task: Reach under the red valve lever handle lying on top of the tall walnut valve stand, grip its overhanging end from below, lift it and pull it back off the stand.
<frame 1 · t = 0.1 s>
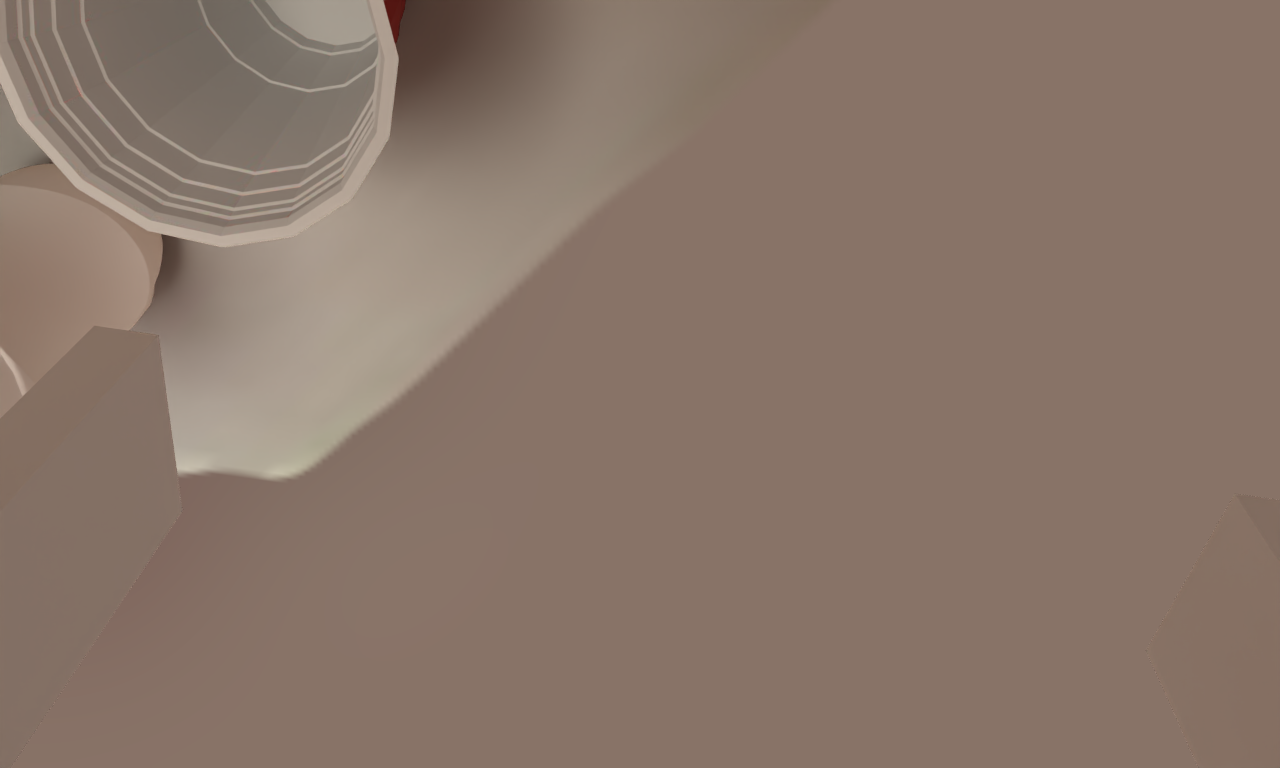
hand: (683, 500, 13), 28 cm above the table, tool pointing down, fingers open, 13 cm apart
water bottle: (98, 227, 44), on the table
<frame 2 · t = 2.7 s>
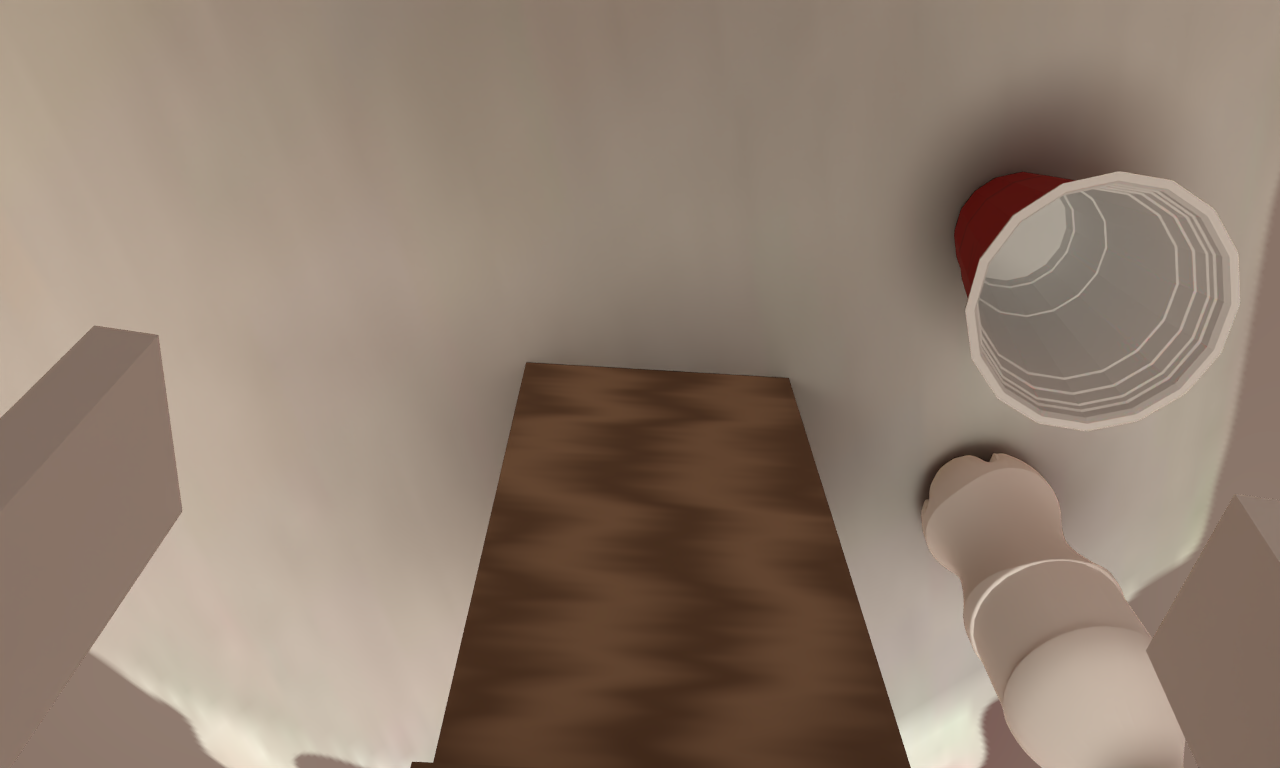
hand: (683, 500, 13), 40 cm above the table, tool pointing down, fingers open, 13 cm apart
plastic cup: (1008, 223, 53), on the table
water bottle: (974, 491, 60), on the table
valve stand: (651, 452, 58), on the table
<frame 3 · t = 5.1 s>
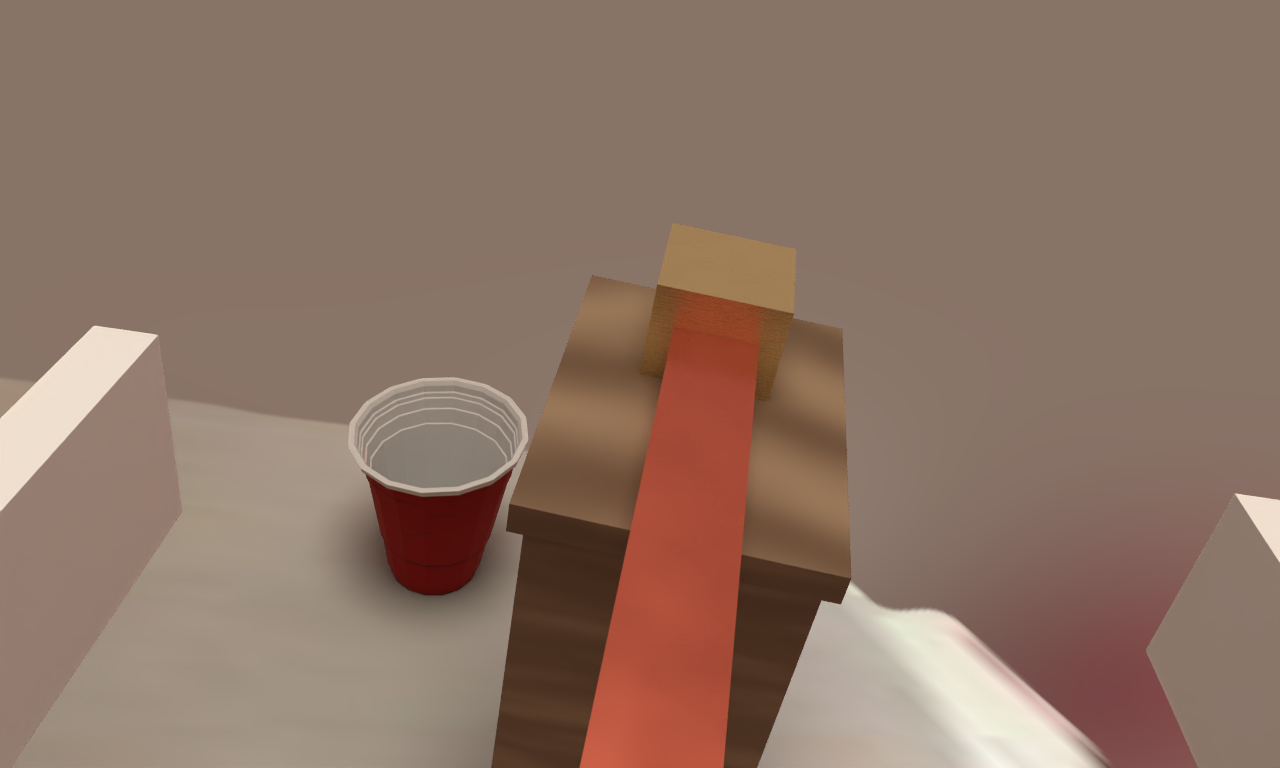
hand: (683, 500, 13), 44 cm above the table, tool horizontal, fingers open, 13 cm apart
lever: (684, 509, 34), point 30 cm above the table, touching valve stand
plastic cup: (430, 566, 71), on the table
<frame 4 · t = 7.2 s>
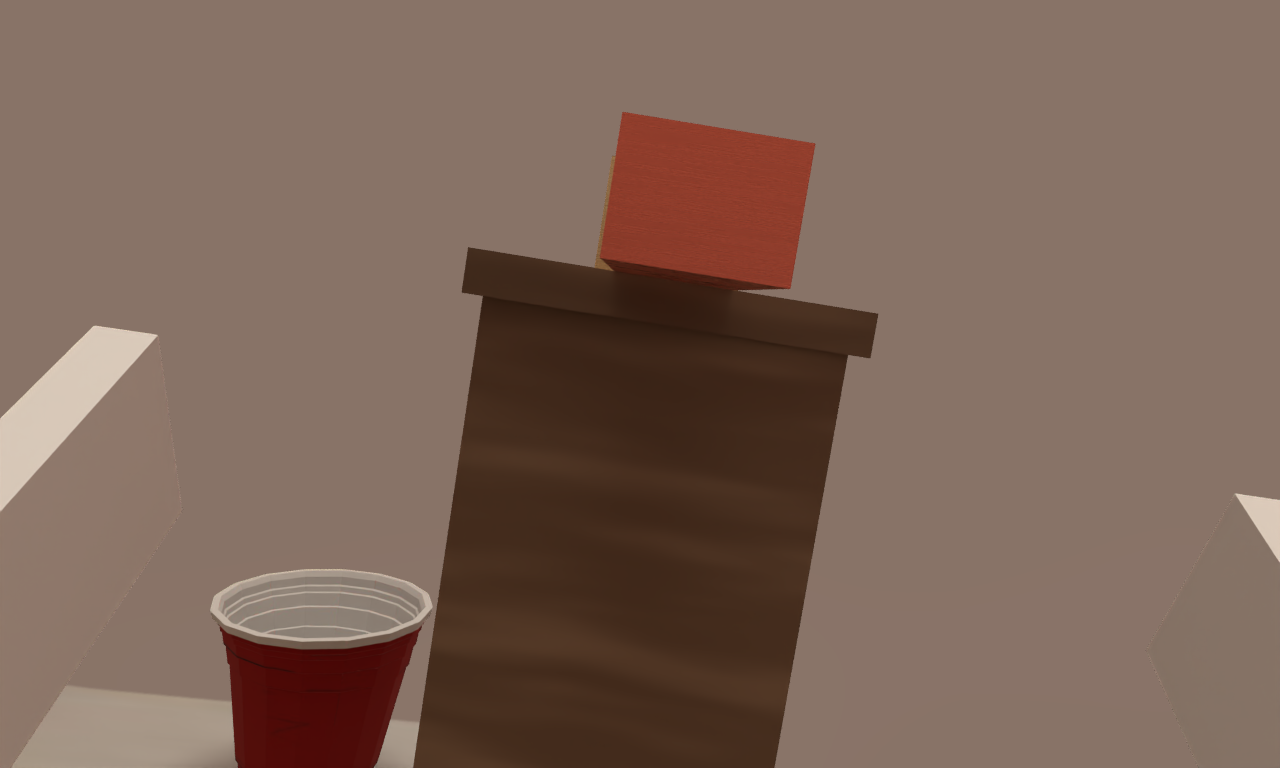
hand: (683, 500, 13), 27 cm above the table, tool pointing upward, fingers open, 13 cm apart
lever: (672, 281, 29), point 30 cm above the table, touching valve stand
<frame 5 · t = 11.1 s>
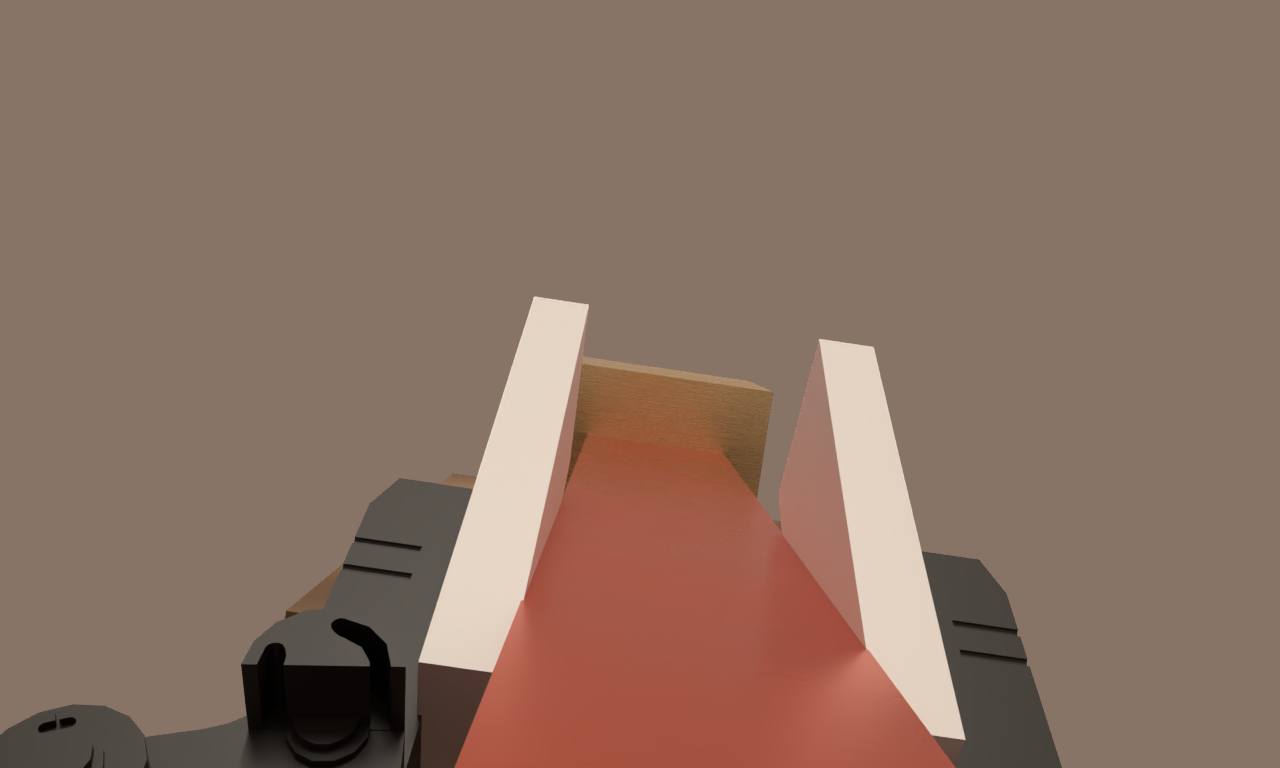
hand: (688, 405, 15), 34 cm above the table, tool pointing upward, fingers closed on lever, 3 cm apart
lever: (644, 633, 18), point 30 cm above the table, touching gripper, valve stand
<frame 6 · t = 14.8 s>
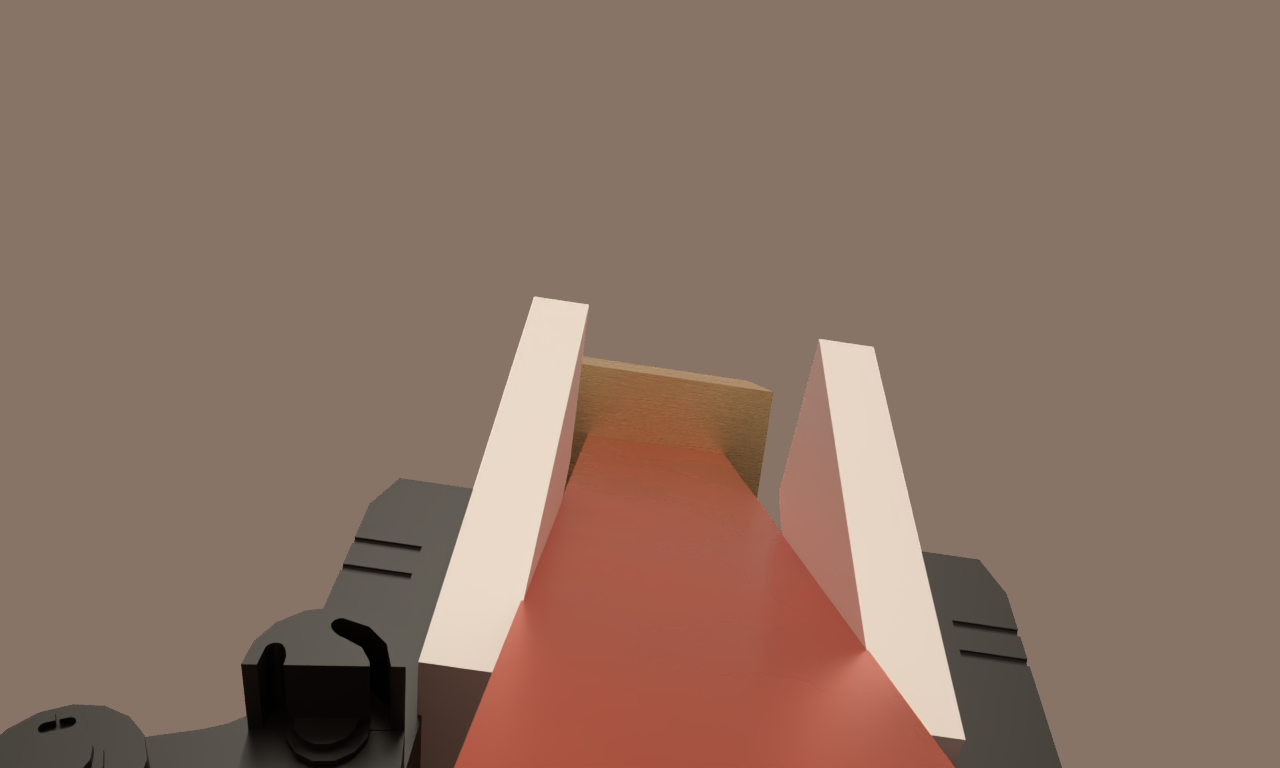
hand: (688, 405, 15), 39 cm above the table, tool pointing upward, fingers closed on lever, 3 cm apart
lever: (644, 633, 18), point 35 cm above the table, touching gripper
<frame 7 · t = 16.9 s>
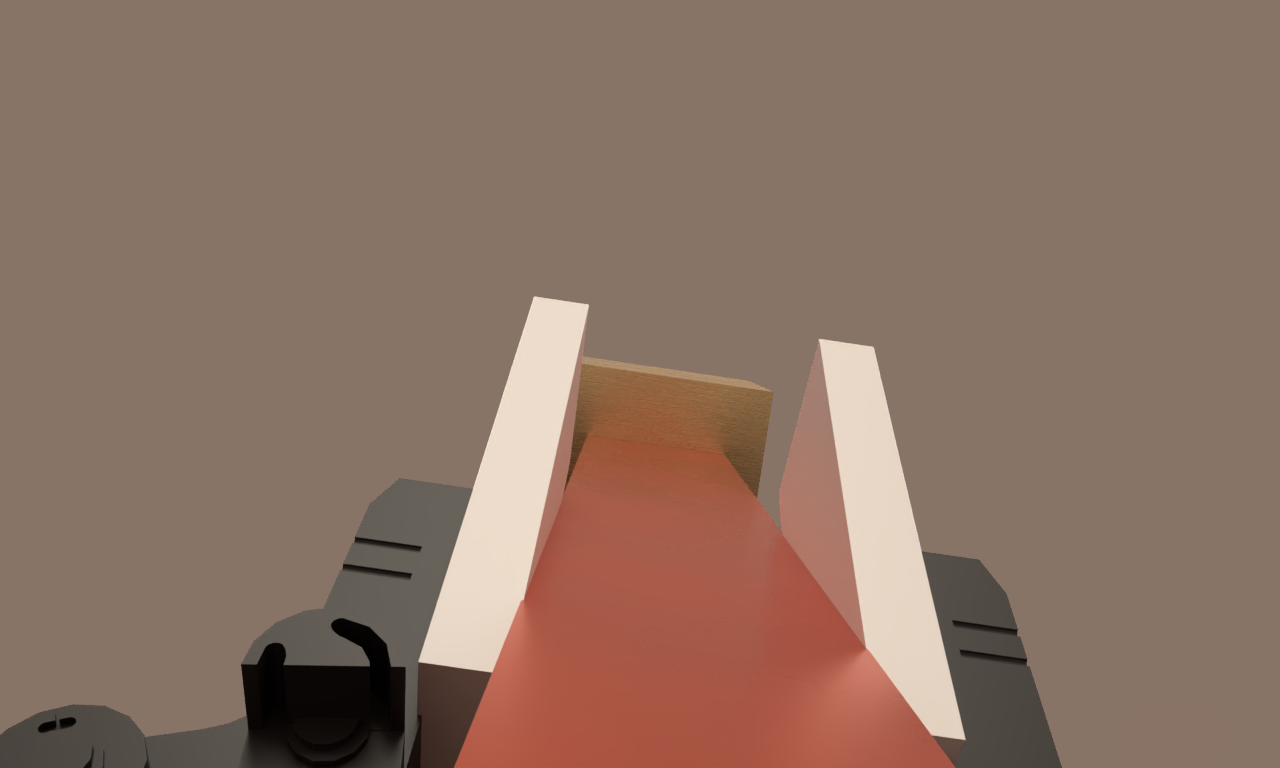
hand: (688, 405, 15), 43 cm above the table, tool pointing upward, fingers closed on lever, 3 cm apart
lever: (644, 633, 18), point 39 cm above the table, touching gripper
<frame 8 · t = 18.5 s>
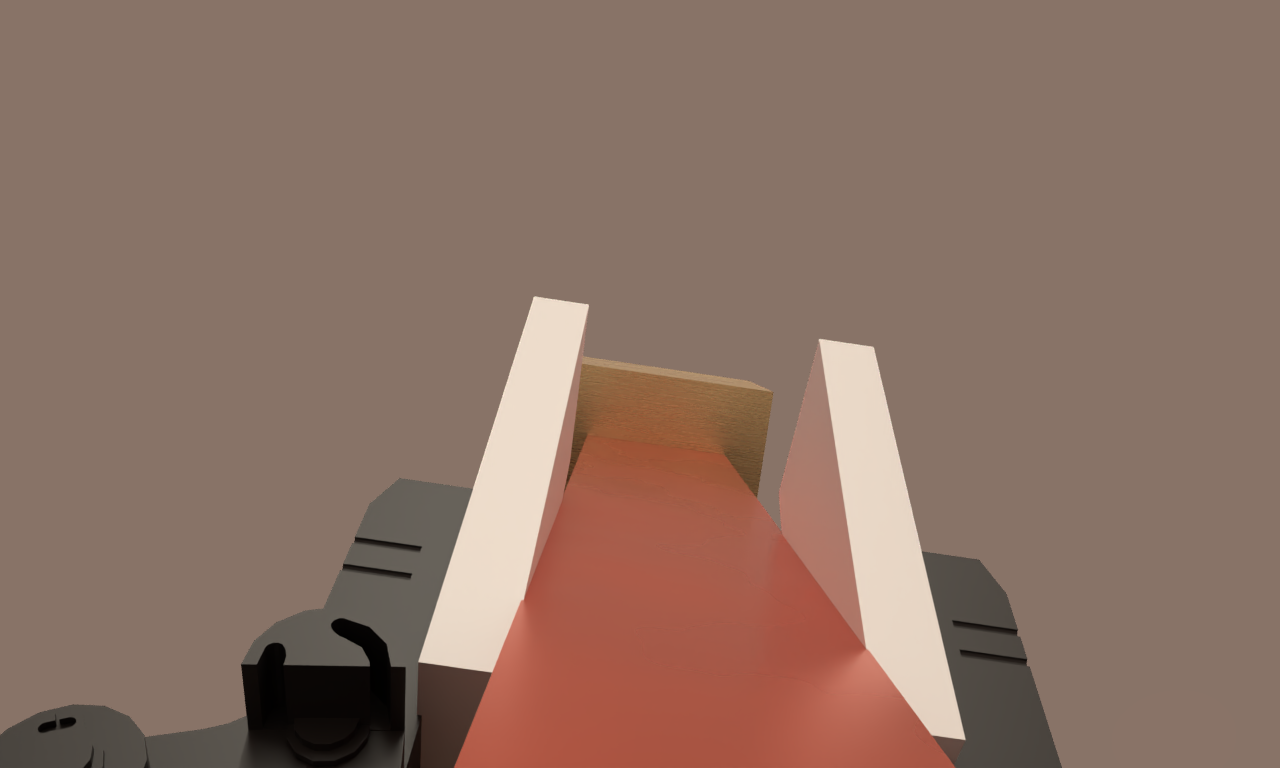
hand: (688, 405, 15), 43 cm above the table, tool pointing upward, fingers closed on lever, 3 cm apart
lever: (644, 633, 18), point 39 cm above the table, touching gripper
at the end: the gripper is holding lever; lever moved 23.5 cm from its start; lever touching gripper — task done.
